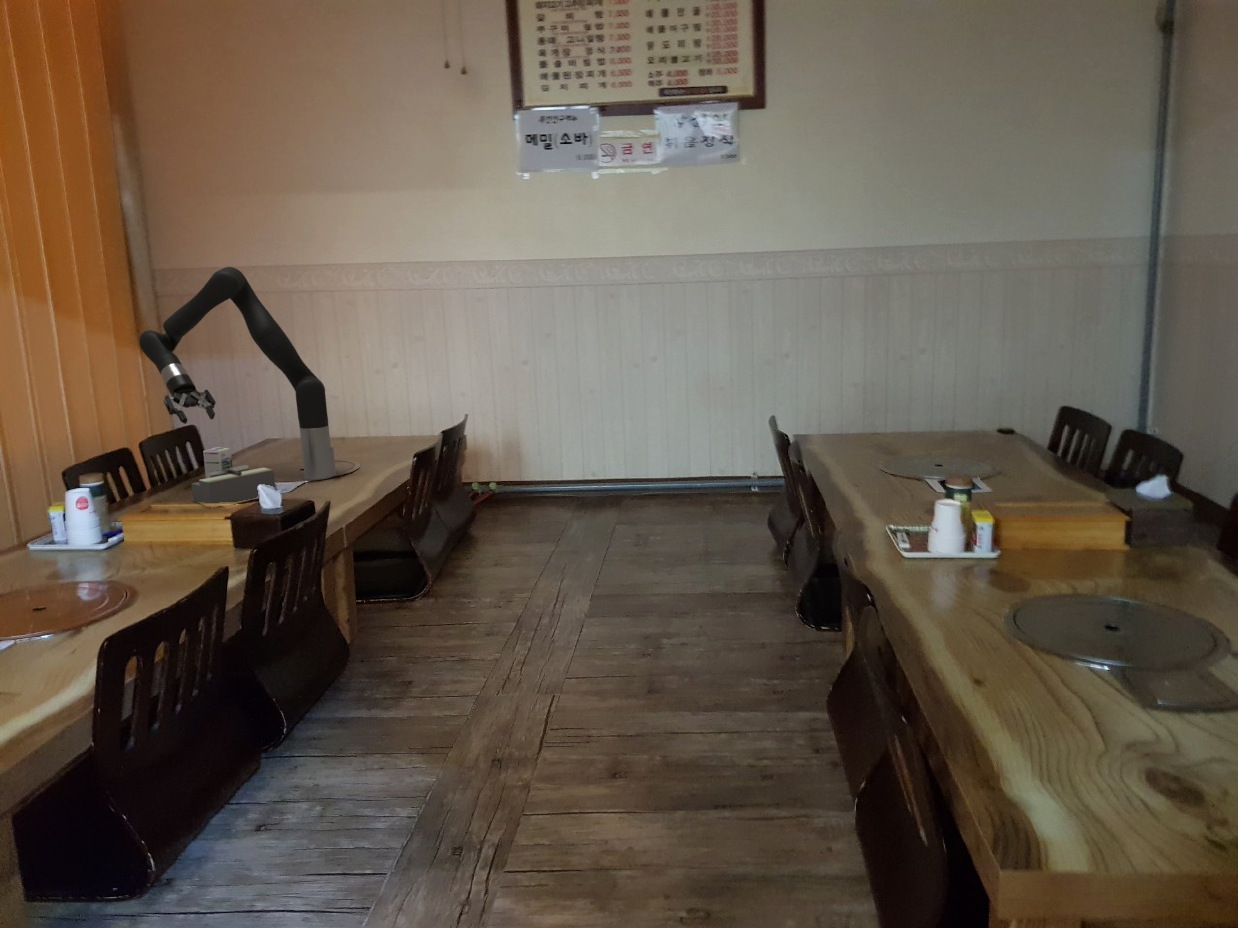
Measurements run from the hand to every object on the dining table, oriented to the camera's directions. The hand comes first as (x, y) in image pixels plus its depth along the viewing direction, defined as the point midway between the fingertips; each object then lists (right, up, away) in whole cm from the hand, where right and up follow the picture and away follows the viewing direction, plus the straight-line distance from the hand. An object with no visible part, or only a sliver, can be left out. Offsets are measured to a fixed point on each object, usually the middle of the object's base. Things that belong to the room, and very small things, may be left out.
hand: (199, 419), depth 307 cm
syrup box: (+9, -24, -5) cm, 26 cm away
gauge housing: (+15, -24, -11) cm, 31 cm away
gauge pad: (+16, -23, -12) cm, 31 cm away
